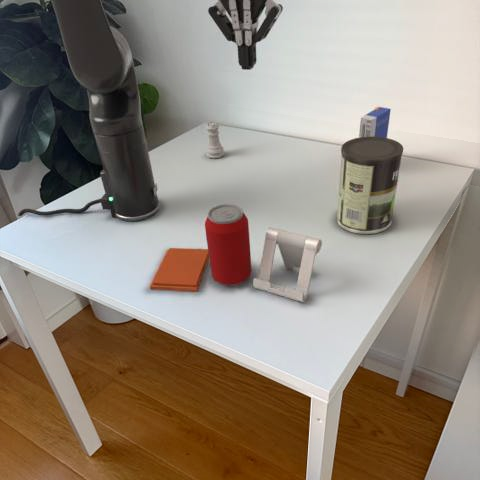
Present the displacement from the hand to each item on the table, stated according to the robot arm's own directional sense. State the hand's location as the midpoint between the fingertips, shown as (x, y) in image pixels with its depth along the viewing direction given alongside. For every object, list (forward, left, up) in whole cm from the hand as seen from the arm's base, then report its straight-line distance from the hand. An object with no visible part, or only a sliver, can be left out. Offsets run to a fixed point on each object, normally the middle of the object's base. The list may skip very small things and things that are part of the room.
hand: (248, 68), depth 84 cm
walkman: (+24, +16, -25) cm, 38 cm away
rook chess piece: (-13, +22, -25) cm, 36 cm away
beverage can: (0, -27, -25) cm, 37 cm away
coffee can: (+22, -8, -25) cm, 34 cm away
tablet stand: (+10, -29, -25) cm, 39 cm away
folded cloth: (-9, -26, -25) cm, 38 cm away
